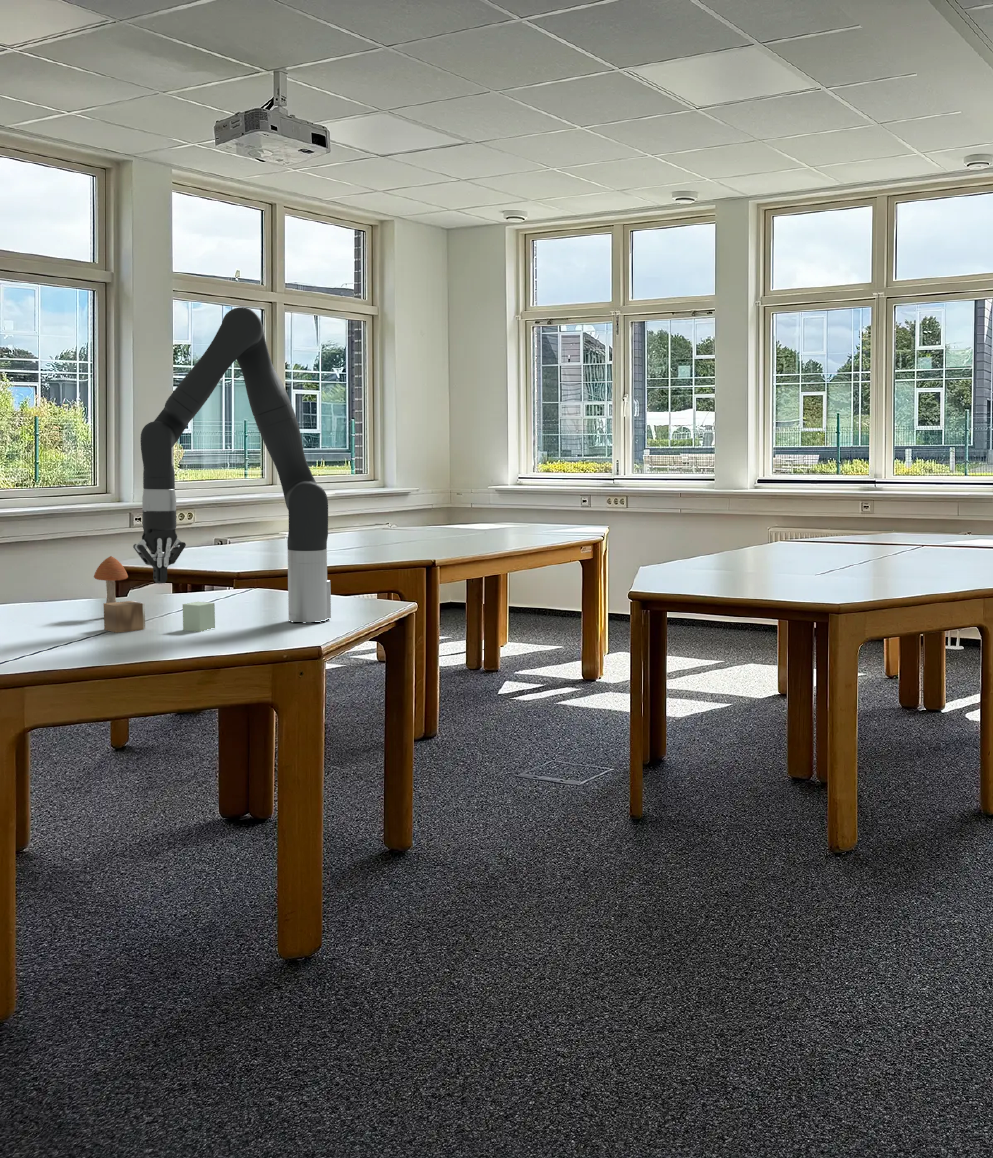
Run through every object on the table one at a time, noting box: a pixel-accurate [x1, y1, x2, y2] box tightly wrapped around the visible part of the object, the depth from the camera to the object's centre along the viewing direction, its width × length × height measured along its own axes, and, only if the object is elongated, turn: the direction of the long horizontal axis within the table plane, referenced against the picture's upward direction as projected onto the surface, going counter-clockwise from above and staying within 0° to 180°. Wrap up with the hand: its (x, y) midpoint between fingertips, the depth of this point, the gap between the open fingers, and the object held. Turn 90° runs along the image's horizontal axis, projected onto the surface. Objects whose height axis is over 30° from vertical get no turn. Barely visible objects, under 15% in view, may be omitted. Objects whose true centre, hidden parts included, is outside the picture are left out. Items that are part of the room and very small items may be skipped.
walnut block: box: [102, 600, 146, 634], centre depth 268 cm, size 6×6×7 cm
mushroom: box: [93, 555, 129, 603], centre depth 286 cm, size 8×8×15 cm
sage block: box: [182, 601, 216, 633], centre depth 269 cm, size 5×5×6 cm
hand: (160, 583), depth 274 cm, fingers closed
